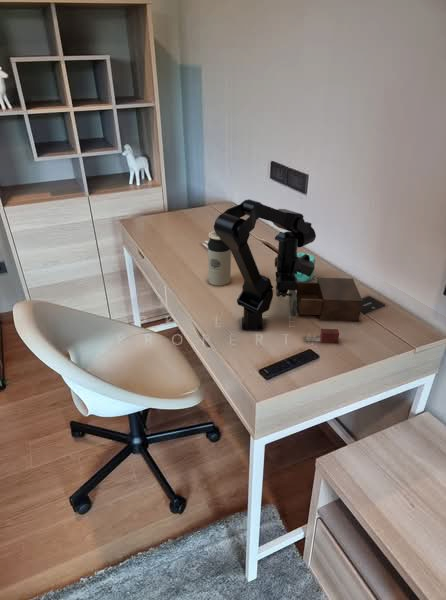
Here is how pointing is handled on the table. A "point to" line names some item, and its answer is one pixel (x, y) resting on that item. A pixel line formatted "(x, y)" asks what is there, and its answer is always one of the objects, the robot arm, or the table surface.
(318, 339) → the red usb flash drive
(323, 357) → the table surface
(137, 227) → the table surface
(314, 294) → the drawer
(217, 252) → the travel mug
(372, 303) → the solid state drive
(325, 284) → the cabinet
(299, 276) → the decorative dice
